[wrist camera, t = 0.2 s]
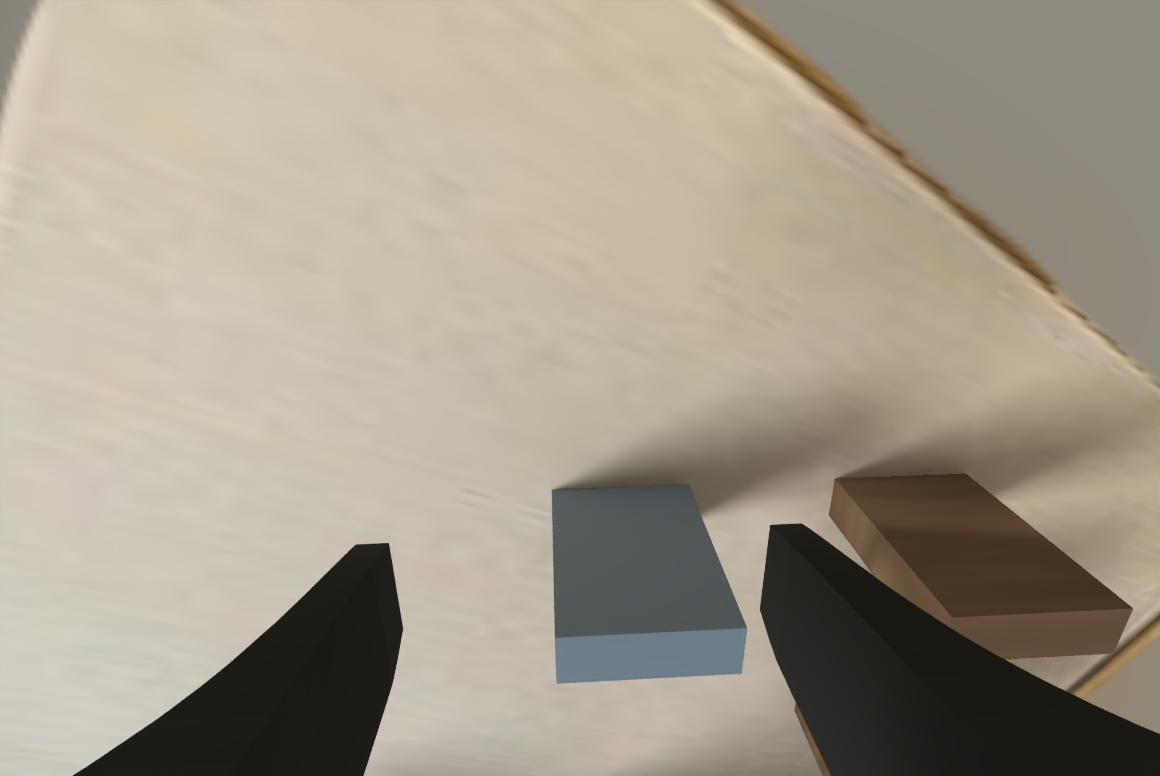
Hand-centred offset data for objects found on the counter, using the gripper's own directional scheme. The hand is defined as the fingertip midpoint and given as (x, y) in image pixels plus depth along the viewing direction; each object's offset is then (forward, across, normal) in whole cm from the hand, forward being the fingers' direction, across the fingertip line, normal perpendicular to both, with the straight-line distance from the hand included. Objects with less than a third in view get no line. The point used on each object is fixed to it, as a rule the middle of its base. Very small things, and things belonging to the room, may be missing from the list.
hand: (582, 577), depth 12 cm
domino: (+10, -12, +5) cm, 17 cm away
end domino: (+10, -2, +5) cm, 11 cm away
